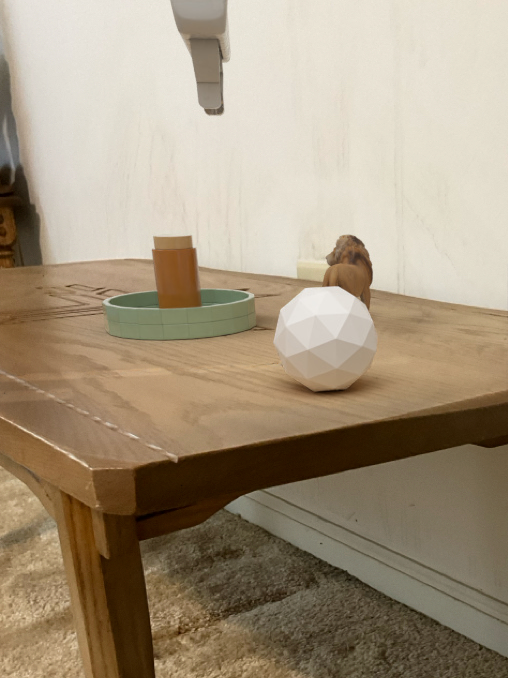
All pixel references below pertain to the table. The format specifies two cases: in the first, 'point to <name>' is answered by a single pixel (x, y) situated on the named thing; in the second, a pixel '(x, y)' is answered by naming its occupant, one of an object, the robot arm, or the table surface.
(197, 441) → the table surface
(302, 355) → the geometric ball
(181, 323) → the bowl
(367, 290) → the lion figurine
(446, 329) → the table surface
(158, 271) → the spice jar
